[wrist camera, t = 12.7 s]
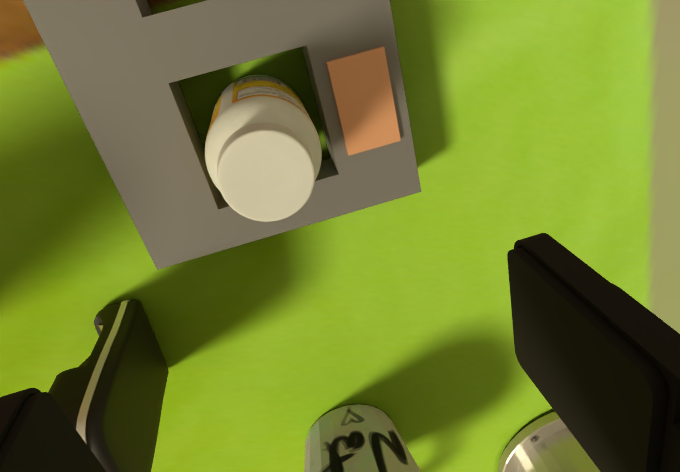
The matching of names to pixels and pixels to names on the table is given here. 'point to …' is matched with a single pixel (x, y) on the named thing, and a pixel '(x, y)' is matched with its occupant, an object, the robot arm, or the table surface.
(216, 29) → the socket board
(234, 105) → the supplement bottle
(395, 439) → the mug
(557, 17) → the table surface
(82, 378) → the battery charger
